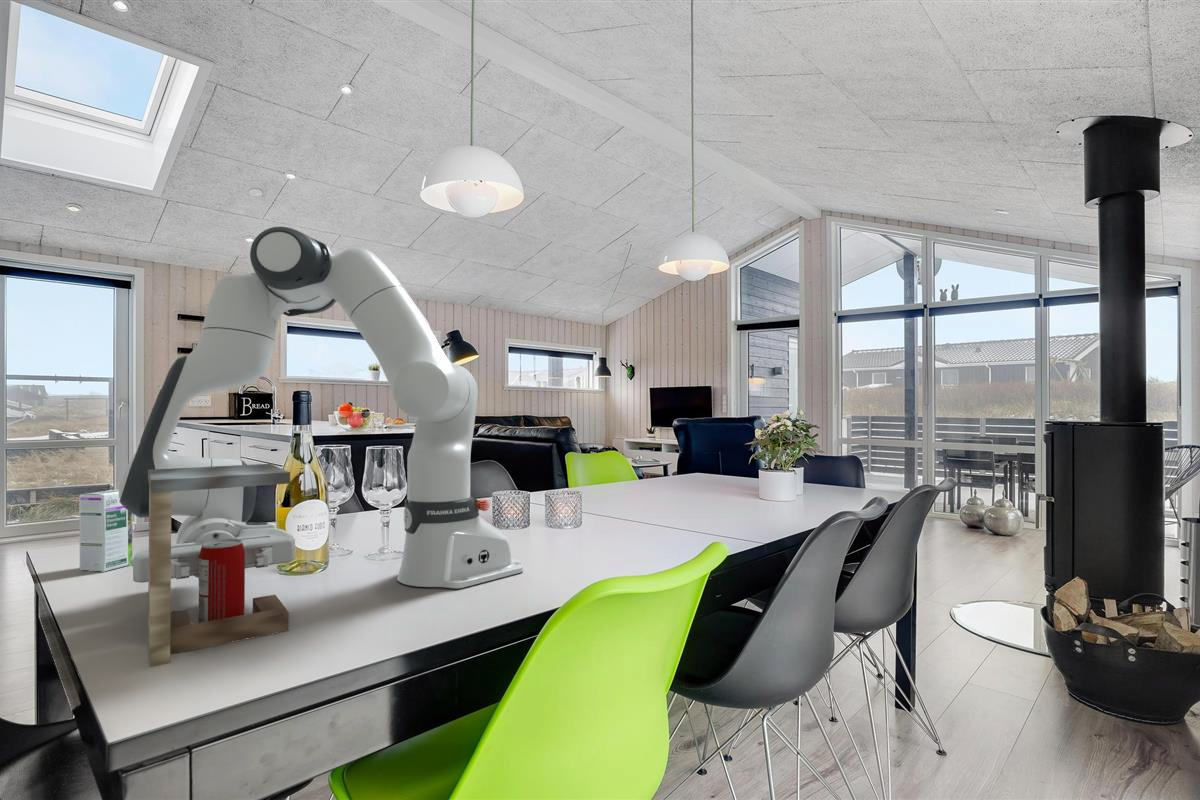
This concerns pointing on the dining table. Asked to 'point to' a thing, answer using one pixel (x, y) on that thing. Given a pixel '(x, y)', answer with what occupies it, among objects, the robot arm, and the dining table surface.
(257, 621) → the socket
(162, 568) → the wooden c-frame stand
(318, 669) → the dining table surface
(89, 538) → the syrup box
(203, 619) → the soda can
